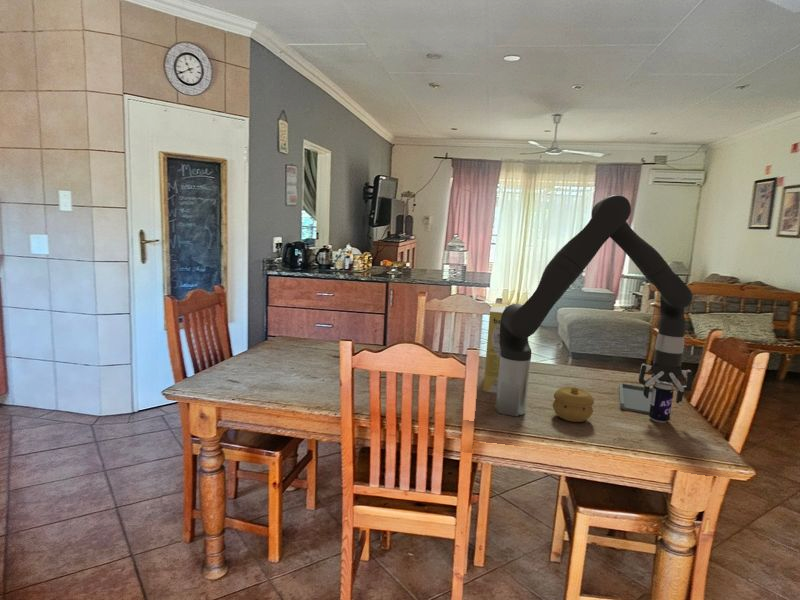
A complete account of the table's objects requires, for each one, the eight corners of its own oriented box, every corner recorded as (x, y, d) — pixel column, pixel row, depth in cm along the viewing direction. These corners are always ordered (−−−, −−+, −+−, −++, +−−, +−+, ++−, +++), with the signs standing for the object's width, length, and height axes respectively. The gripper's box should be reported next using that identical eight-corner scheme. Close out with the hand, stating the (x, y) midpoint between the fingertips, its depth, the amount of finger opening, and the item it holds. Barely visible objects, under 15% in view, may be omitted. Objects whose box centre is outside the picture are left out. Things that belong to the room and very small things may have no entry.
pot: (598, 419, 154) (602, 388, 153) (581, 430, 146) (585, 397, 144) (561, 408, 162) (565, 378, 160) (544, 417, 154) (547, 386, 152)
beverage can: (657, 424, 153) (663, 386, 151) (644, 417, 159) (649, 380, 157) (673, 423, 155) (678, 385, 153) (659, 416, 160) (664, 379, 158)
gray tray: (668, 417, 159) (669, 411, 159) (619, 408, 164) (620, 403, 164) (660, 394, 181) (661, 389, 181) (618, 387, 186) (619, 382, 186)
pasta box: (486, 375, 192) (492, 303, 187) (514, 379, 189) (521, 305, 185) (483, 391, 174) (490, 311, 169) (514, 395, 172) (522, 314, 167)
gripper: (644, 348, 152) (637, 399, 155) (697, 355, 147) (690, 408, 150) (642, 343, 159) (636, 392, 162) (693, 349, 154) (686, 400, 157)
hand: (662, 399), depth 156 cm, fingers open, 8 cm apart
